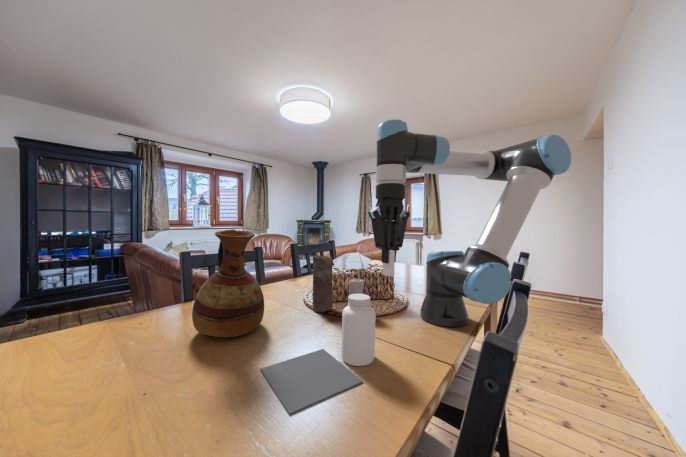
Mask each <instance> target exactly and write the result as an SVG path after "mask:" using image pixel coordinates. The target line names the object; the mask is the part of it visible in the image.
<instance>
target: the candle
mask: <svg viewBox="0 0 686 457" xmlns="http://www.w3.org/2000/svg"><path fill="white" fill-rule="evenodd" d="M333 302H334V301H333V257H332V256H328V255H317V254H315V255H312V310H313V312H315V313H325V312H327V311H331V310H332V309H333Z"/></svg>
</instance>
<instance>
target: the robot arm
mask: <svg viewBox="0 0 686 457" xmlns="http://www.w3.org/2000/svg"><path fill="white" fill-rule="evenodd" d="M375 144H376V167H375V168H376V170H375V182H376V183H377V184H376V185H375V198H376V204H375V208H373V209H370V210H368V216H369V218H370V222H371V226H372V227H371V228H372V234H373V239H374V245H375V248H377V249H378V250H380V251H381V264H382V275H383V276H386V277H395V263H396V260H397V251H400V248H402V247H403V244H404V239H405V234H406V230H407V228H406V227H407V225H408V224H407V223H408V219H409V217H410V215H411V213H410V211H406V210H405V209H404V203H403V201H404V200H405V198H406V185H405V183H406V181H407V174H408V173H409V174H431V175H449V176H450V175H451V176H452V175H453V176H470V177H471V176H472V177H475V178H476V179H479V180H485V181H486V180H487V181H488V180H489V181H500V182H507V183H506V185H505V187H504V188H503V191H502V193H501V195H500V196H499V199H498V200H497V203H496V204H495V206H494V208H493V210H492V211H491V214H490V216H489V218H488V220H487V222H486V224H485V225H484V227H483V229H482V231H481V233H480V235H479V237H478V239H477V240H476V243H475V244H474V245H471V246H468V247H466V250H465V251H463V250H447V251H442V250H441V251H430V252H428V253H427V256H426V262H425V264H426V278H425V279H426V280H425V281H426V282H425V283H426V286H425V287H426V288H425V289H426V290H425V291H426V292H425V296H424V300H423V302H422V305H421V307H420V315H419V316H420V318H421V319H422V320H424V321H425V322H426V323H429V324H433V325H436V326H440V327H445V328H446V327H447V328H458V327H464V326H467V325H468V324H469V314H468V310H467V307H466V304H465V301H464V298H467V299H469V300H470V301H472V302H475V303H476V302H477V303H479V304H483V305H492V304H494V303H497V302H500V301H502V300H503V299H504V298H505V297H506V296H507V294H508V293H509V291H510V289H511V286H512V280H511V279H512V273H511V271H510V270H509V268H510V262H509V260H508V258H507V257H508V255H509V253H510V251H511V249H512V247H513V245H514V243H515V241H516V239H517V236H518V235H519V232H520V231H521V229H522V227H523V225H524V223H525V221H526V219H527V217H528V215H529V213H530V212H531V208H532V207H533V206H534V203H535V201H536V199H537V197H538V194H540V192H541V190H542V189H546V188H548V187H549V186H550V184H551V183H552V180H553V179H554V176H556V175H557V176H559V175H562V174H564V173H566V172H567V171H568V170H569V169H570V166H571V163H572V152H571V149H570V146H569V144H568V143H567V141H566V140H565V139H564V138H563V137H561V135H558V134H548V135H544V136H539V137H537V138H534V139H530V140H528V141H524V142H521V143H517V144H514V145H510V146H507V147H504V148H501V149H497V150H495V149H494V150H482V151H480V152H465V151H456V150H455V151H453V150H450V148H451V145H450V142H449V140H448V139H447V138H446V137H443V136H439V135H436V134H434V135H433V134H424V133H416V132H411V131H408V124H407V122H405V121H403V120H402V119H387V120H385V121H383V122H381V123H380V124H379V125H378V126H377V133H376V140H375Z"/></svg>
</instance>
